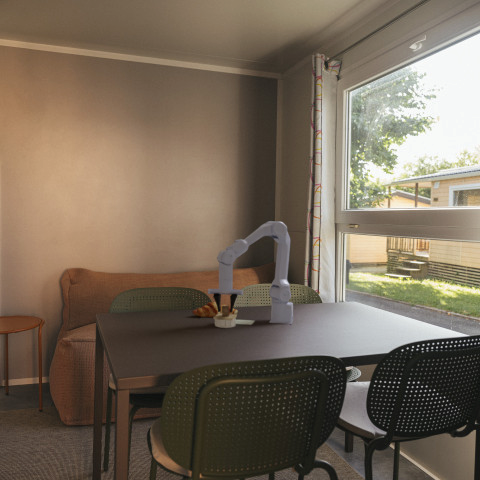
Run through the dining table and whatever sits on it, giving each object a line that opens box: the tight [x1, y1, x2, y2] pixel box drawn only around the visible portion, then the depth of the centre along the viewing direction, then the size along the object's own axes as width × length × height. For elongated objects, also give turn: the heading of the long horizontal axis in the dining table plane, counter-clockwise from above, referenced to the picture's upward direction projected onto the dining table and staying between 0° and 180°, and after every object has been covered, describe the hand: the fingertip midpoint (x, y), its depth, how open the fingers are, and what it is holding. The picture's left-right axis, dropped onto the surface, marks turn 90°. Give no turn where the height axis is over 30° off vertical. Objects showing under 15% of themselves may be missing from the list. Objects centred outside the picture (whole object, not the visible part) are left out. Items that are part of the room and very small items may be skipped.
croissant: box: [192, 301, 238, 318], centre depth 207 cm, size 21×10×8 cm, turn 107°
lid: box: [212, 305, 238, 320], centre depth 187 cm, size 8×8×5 cm
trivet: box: [235, 319, 255, 325], centre depth 194 cm, size 9×8×1 cm
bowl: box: [214, 317, 237, 329], centre depth 187 cm, size 8×8×4 cm
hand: (225, 311), depth 187 cm, fingers open, 4 cm apart
